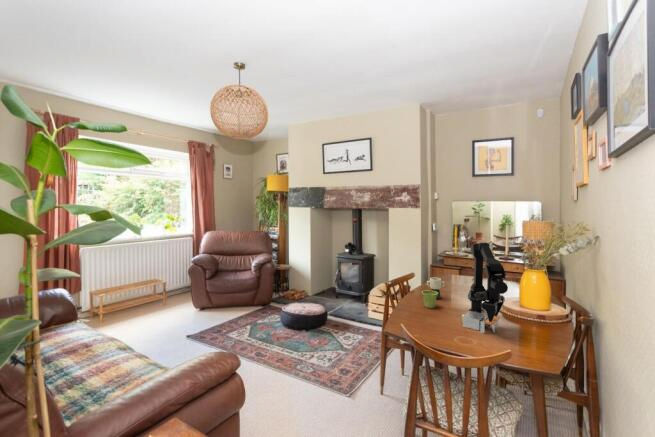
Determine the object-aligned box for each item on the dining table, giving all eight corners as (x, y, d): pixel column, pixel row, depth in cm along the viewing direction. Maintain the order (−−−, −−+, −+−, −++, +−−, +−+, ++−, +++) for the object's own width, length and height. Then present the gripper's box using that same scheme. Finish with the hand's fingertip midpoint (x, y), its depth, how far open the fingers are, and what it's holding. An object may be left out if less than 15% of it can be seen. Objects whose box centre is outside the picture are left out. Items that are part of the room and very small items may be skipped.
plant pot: (427, 309, 194) (427, 295, 193) (418, 304, 203) (418, 291, 202) (441, 308, 196) (441, 293, 196) (432, 303, 205) (432, 289, 205)
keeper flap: (489, 316, 170) (489, 314, 170) (499, 318, 166) (499, 316, 166) (482, 322, 161) (482, 321, 161) (493, 325, 158) (493, 323, 157)
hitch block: (470, 319, 177) (470, 309, 177) (500, 326, 168) (500, 315, 167) (461, 327, 166) (461, 317, 166) (492, 335, 157) (492, 324, 157)
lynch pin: (464, 320, 175) (464, 312, 174) (491, 327, 166) (491, 318, 166) (461, 323, 171) (461, 315, 171) (488, 329, 163) (488, 321, 162)
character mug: (443, 297, 217) (444, 277, 217) (444, 300, 211) (444, 280, 210) (426, 295, 220) (426, 276, 220) (426, 299, 214) (426, 279, 213)
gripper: (481, 281, 174) (481, 310, 175) (470, 289, 160) (470, 320, 161) (505, 284, 167) (504, 315, 168) (495, 293, 153) (494, 326, 154)
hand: (493, 318), depth 163 cm, fingers open, 9 cm apart
